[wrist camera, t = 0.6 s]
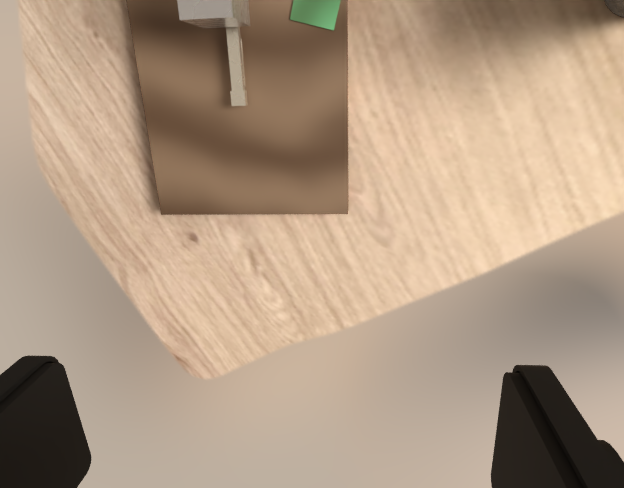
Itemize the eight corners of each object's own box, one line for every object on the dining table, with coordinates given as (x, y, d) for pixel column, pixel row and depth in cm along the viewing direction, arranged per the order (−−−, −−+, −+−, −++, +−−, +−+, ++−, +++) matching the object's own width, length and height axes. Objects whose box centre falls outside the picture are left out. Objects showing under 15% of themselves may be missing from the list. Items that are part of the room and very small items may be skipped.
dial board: (106, -191, 27) (91, -207, 25) (352, -218, 25) (352, -237, 24) (168, 209, 36) (160, 215, 35) (352, 208, 34) (352, 214, 33)
